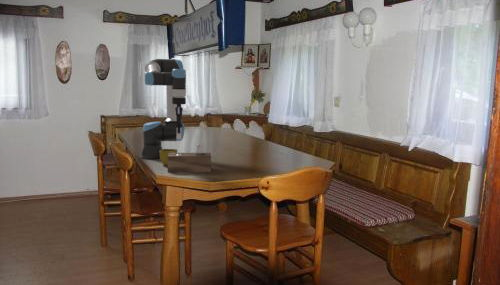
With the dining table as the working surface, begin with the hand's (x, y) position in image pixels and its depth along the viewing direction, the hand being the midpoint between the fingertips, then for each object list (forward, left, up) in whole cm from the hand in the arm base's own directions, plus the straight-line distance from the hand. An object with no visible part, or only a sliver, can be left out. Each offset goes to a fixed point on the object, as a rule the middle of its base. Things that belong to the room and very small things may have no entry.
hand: (178, 138), depth 236 cm
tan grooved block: (0, +6, -18) cm, 19 cm away
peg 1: (0, 0, -18) cm, 18 cm away
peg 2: (0, +12, -12) cm, 17 cm away
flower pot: (-16, -7, -18) cm, 25 cm away
